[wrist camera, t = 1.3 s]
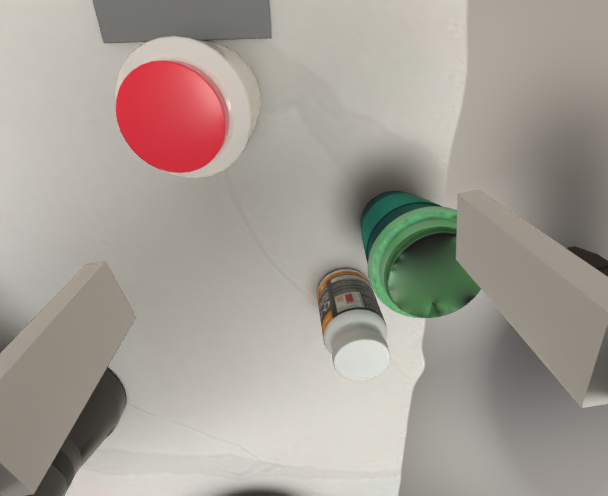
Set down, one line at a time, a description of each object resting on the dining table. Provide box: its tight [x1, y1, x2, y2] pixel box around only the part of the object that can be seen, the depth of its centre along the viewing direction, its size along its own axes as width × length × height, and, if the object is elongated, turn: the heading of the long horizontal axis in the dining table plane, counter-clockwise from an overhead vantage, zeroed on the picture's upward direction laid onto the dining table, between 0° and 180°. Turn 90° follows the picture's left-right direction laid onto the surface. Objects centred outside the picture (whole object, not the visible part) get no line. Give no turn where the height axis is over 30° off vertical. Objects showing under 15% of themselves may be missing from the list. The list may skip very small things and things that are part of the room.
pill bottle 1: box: [115, 36, 261, 178], centre depth 23 cm, size 8×8×11 cm
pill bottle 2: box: [317, 269, 390, 380], centre depth 33 cm, size 6×6×10 cm
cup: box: [361, 191, 481, 318], centre depth 27 cm, size 8×8×12 cm
